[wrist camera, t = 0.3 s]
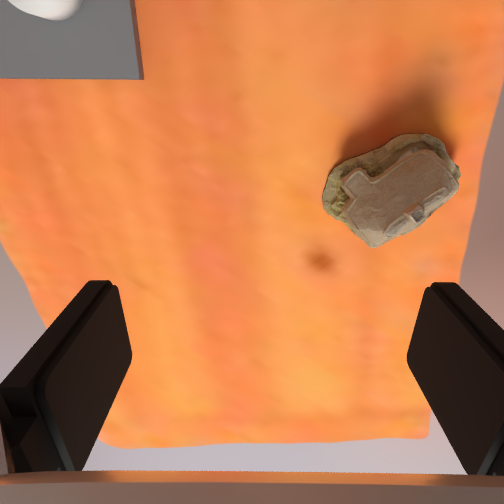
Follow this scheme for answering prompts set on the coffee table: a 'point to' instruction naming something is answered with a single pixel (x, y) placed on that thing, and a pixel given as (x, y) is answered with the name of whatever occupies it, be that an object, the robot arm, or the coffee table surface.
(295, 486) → the robot arm
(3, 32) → the post plate
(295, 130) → the coffee table surface
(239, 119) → the coffee table surface
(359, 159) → the ceramic model
